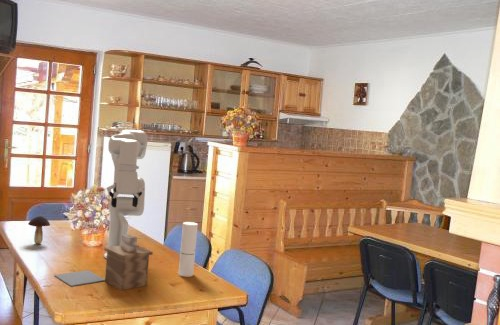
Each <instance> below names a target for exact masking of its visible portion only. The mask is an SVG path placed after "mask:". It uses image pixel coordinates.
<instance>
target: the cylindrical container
mask: <svg viewBox="0 0 500 325" xmlns="http://www.w3.org/2000/svg"><path fill="white" fill-rule="evenodd" d="M198 226H199V225H198V223H197V222H193V221H185V222H184V221H183V222H182V229H181V230H182V231H181V238H180V239H181V241H180V251H179V252H180V253H179V260H178V261H179V262H178V263H179V265H178V276H180V277H186V278H187V277H193V276H194V272H195V271H194V270H195V259H196V258H195V256H196V247H197V236H198V228H199V227H198Z"/></svg>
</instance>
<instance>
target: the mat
mask: <svg viewBox="0 0 500 325" xmlns="http://www.w3.org/2000/svg"><path fill="white" fill-rule="evenodd" d="M54 277H55V278H57V279H58V280H59V281H62V282H63V283H65V284H66V285H67V286H70V287H71V288H72V287H77V286H83V285H90V284H96V283H102V282H105V278H103V277H101V276H99V275H97V274H96V273H94V272H93V271H90V270H88V269H87V270H81V271H73V272H66V273H59V274H58V273H57V274H54Z"/></svg>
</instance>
